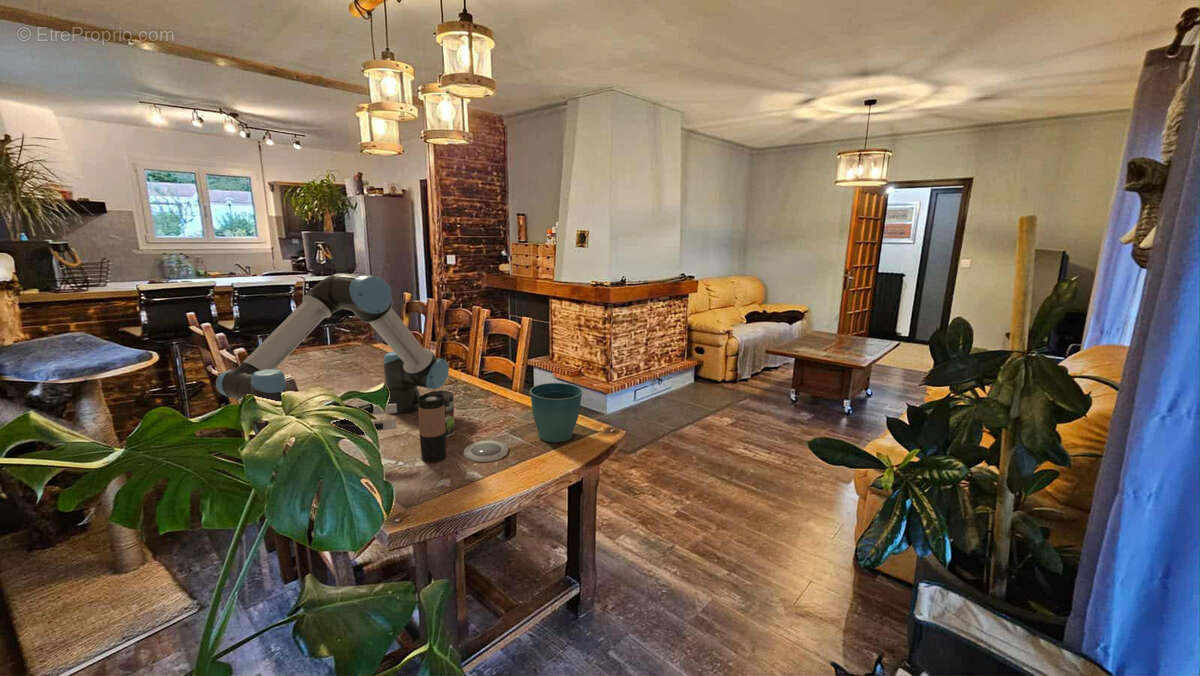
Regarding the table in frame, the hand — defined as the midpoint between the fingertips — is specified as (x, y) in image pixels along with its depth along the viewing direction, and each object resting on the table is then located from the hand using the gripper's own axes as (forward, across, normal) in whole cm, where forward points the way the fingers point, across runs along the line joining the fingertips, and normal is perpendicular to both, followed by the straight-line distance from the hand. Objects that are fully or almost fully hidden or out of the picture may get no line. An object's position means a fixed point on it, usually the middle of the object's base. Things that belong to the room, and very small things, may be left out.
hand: (396, 415), depth 141 cm
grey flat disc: (+26, +1, -15) cm, 30 cm away
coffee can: (+13, -19, -15) cm, 28 cm away
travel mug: (+10, 0, -15) cm, 18 cm away
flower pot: (+51, -4, -15) cm, 53 cm away
